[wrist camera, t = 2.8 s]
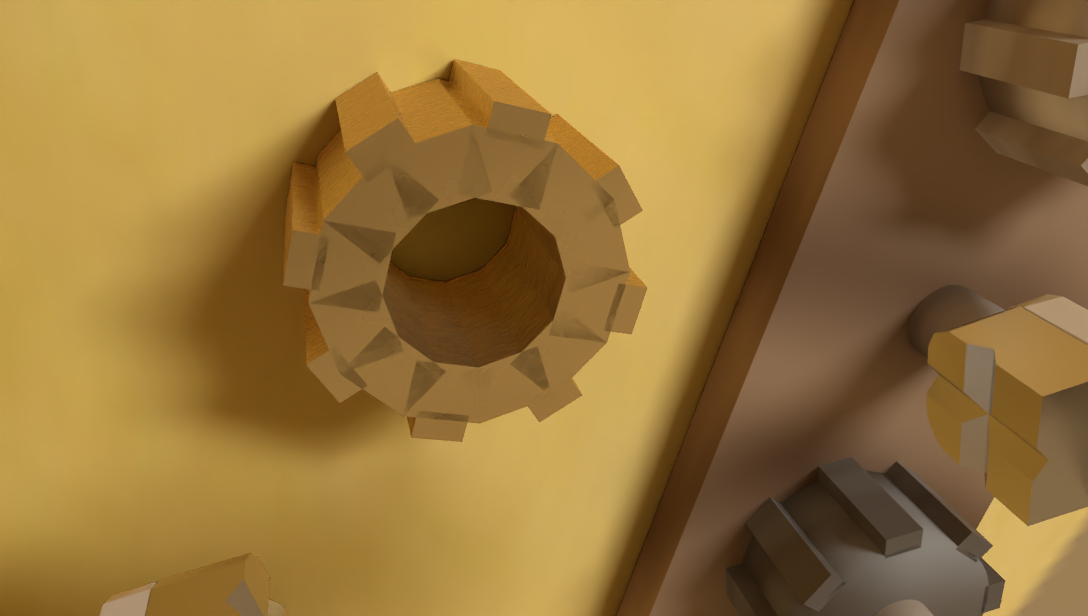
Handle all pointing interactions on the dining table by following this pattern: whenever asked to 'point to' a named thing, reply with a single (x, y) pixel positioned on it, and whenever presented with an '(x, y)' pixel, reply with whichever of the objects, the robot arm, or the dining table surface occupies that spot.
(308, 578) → the dining table surface
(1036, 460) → the robot arm
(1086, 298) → the gear board
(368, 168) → the wooden gear
